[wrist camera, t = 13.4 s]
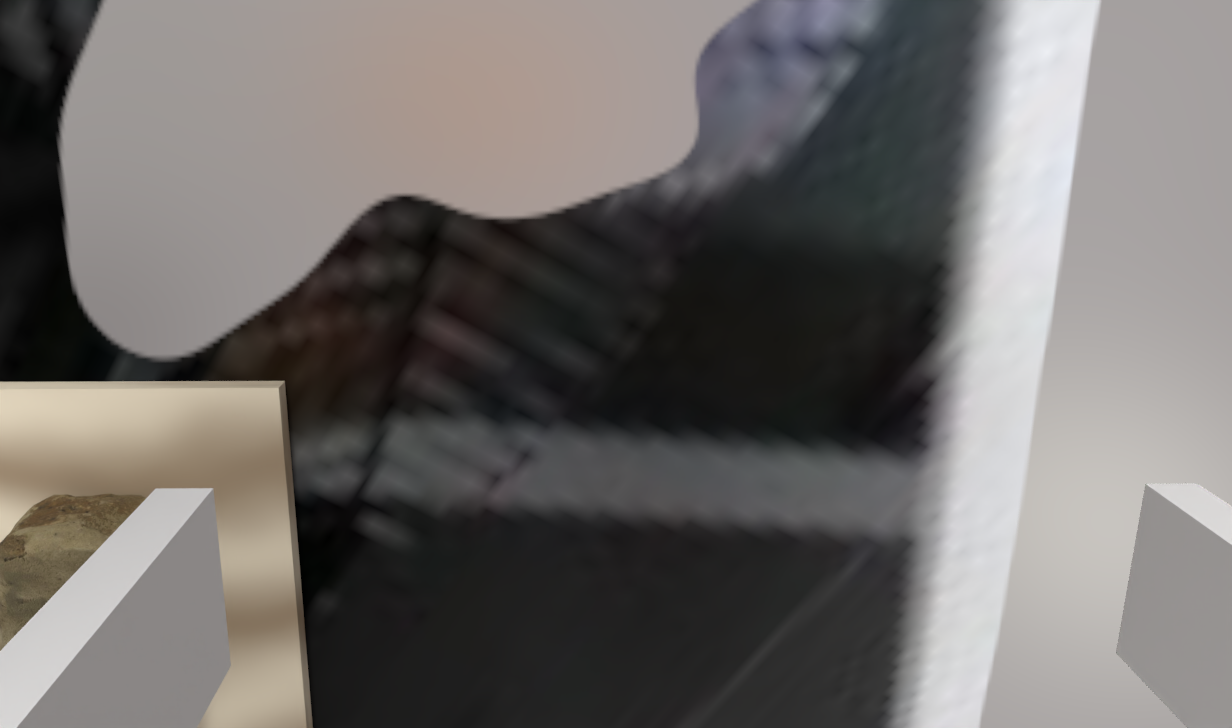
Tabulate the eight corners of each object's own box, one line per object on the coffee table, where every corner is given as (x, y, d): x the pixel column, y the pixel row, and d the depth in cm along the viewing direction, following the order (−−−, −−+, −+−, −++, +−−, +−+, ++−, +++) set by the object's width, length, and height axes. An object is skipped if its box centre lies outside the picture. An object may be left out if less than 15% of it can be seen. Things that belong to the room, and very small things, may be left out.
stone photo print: (-86, 382, 42) (-101, 389, 41) (284, 380, 43) (278, 388, 42) (-10, 792, 48) (-21, 807, 47) (317, 784, 48) (312, 798, 47)
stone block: (65, 721, 46) (6, 797, 41) (40, 482, 42) (-26, 533, 38) (197, 723, 46) (155, 798, 41) (183, 486, 43) (136, 538, 38)
